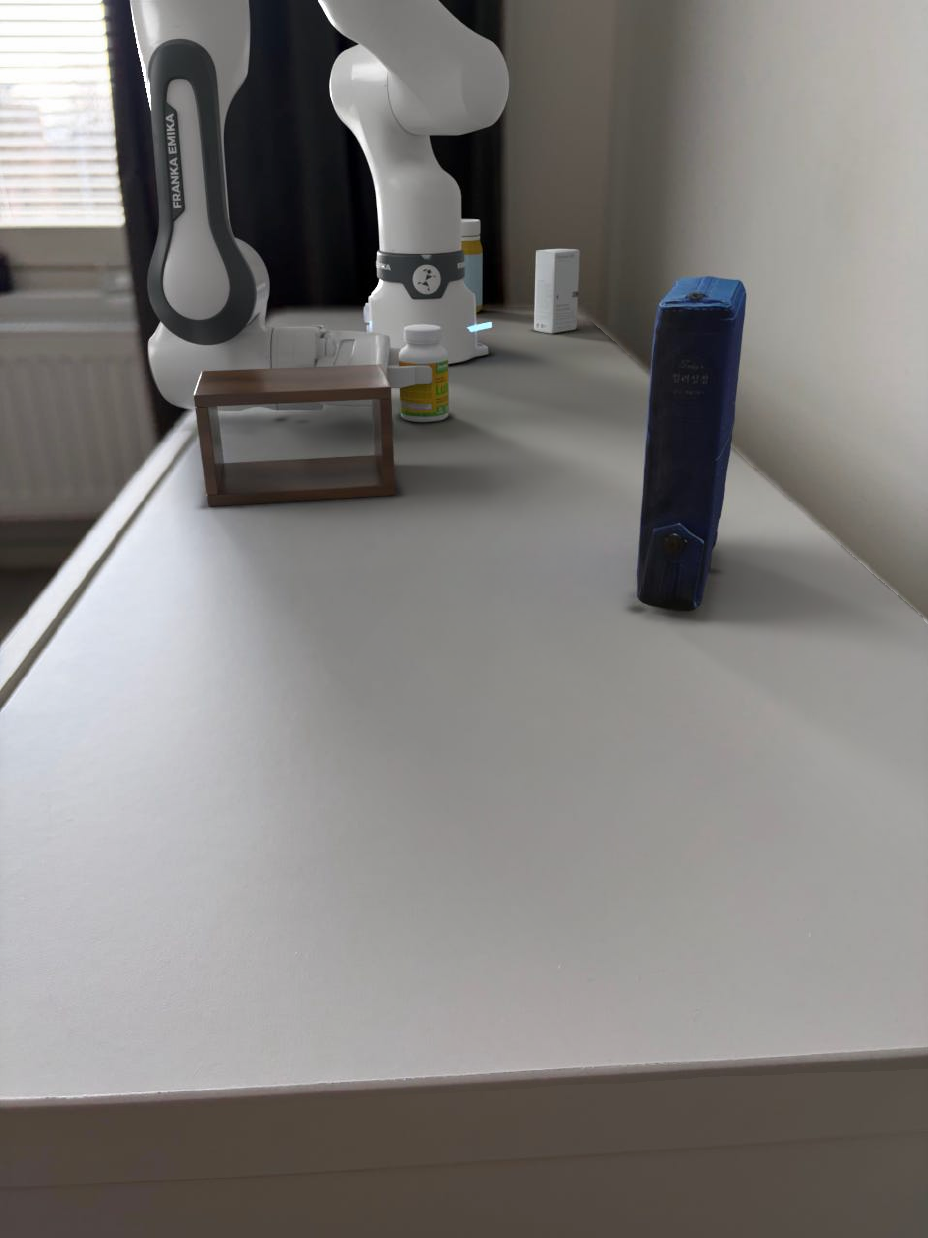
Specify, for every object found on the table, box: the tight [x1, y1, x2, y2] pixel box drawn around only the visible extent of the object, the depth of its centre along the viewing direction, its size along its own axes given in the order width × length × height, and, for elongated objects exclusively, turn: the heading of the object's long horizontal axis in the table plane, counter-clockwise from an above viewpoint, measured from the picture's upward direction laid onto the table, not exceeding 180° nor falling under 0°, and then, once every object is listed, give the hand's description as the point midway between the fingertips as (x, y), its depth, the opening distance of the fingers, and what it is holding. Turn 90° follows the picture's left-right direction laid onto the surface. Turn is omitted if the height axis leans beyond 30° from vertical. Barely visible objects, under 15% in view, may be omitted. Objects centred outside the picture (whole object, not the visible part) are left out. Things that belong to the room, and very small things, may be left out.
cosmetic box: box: [533, 248, 581, 334], centre depth 152 cm, size 6×4×12 cm
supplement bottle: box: [399, 324, 450, 423], centre depth 105 cm, size 5×5×10 cm
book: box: [636, 275, 747, 613], centre depth 64 cm, size 14×5×20 cm, turn 163°
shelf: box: [194, 364, 396, 507], centre depth 85 cm, size 9×16×10 cm, turn 100°
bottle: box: [461, 218, 484, 314], centre depth 168 cm, size 7×7×15 cm
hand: (431, 366), depth 105 cm, fingers closed on supplement bottle, 5 cm apart
